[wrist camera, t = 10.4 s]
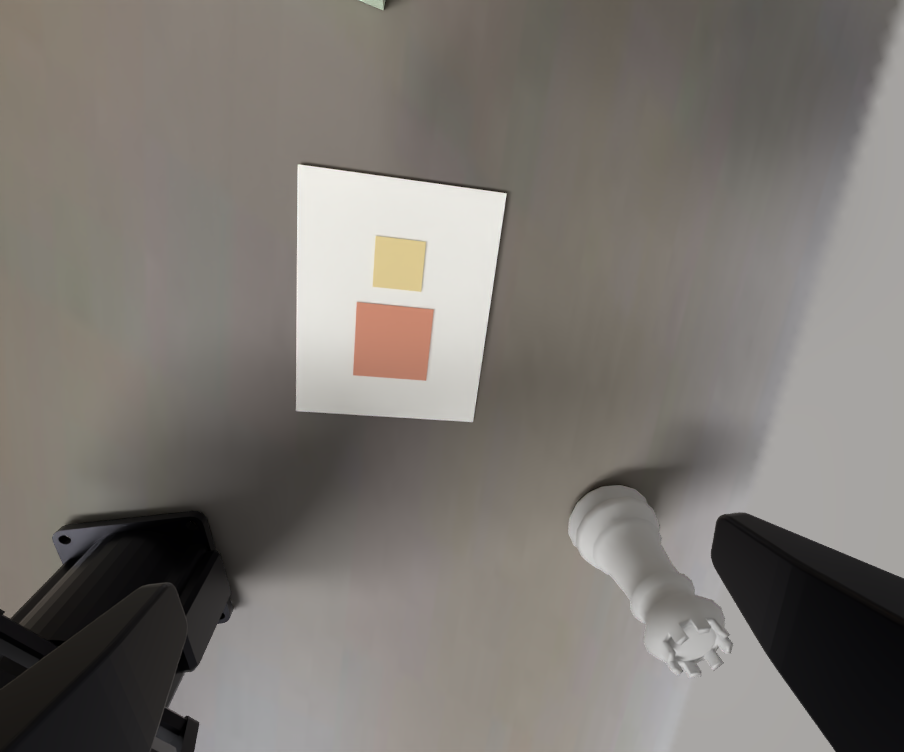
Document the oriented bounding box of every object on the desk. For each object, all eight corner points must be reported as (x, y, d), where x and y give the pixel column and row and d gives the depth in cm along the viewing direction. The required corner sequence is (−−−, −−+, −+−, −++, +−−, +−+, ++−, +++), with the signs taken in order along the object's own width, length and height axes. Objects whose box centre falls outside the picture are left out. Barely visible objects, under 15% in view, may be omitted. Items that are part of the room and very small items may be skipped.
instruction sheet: (472, 420, 21) (473, 422, 21) (296, 409, 20) (295, 411, 20) (505, 193, 18) (507, 193, 18) (298, 164, 17) (297, 164, 16)
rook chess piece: (621, 464, 23) (729, 584, 15) (658, 519, 24) (775, 654, 17) (549, 512, 23) (620, 651, 16) (590, 563, 25) (673, 713, 17)
